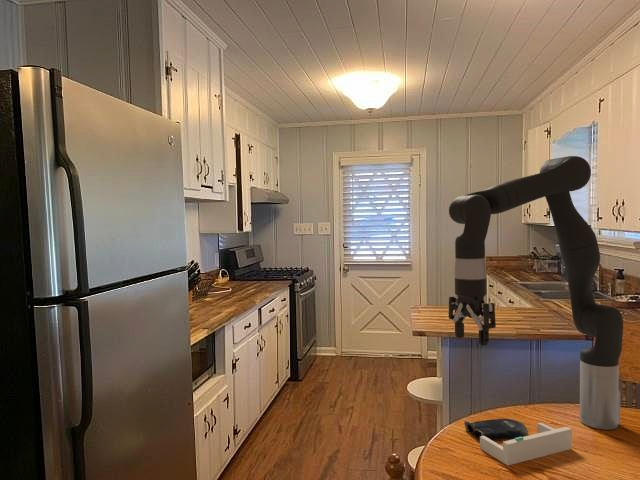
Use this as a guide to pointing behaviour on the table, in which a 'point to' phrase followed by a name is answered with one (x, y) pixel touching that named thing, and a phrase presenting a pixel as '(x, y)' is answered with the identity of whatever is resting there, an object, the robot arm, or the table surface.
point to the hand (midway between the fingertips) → (471, 341)
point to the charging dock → (529, 445)
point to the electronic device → (497, 429)
